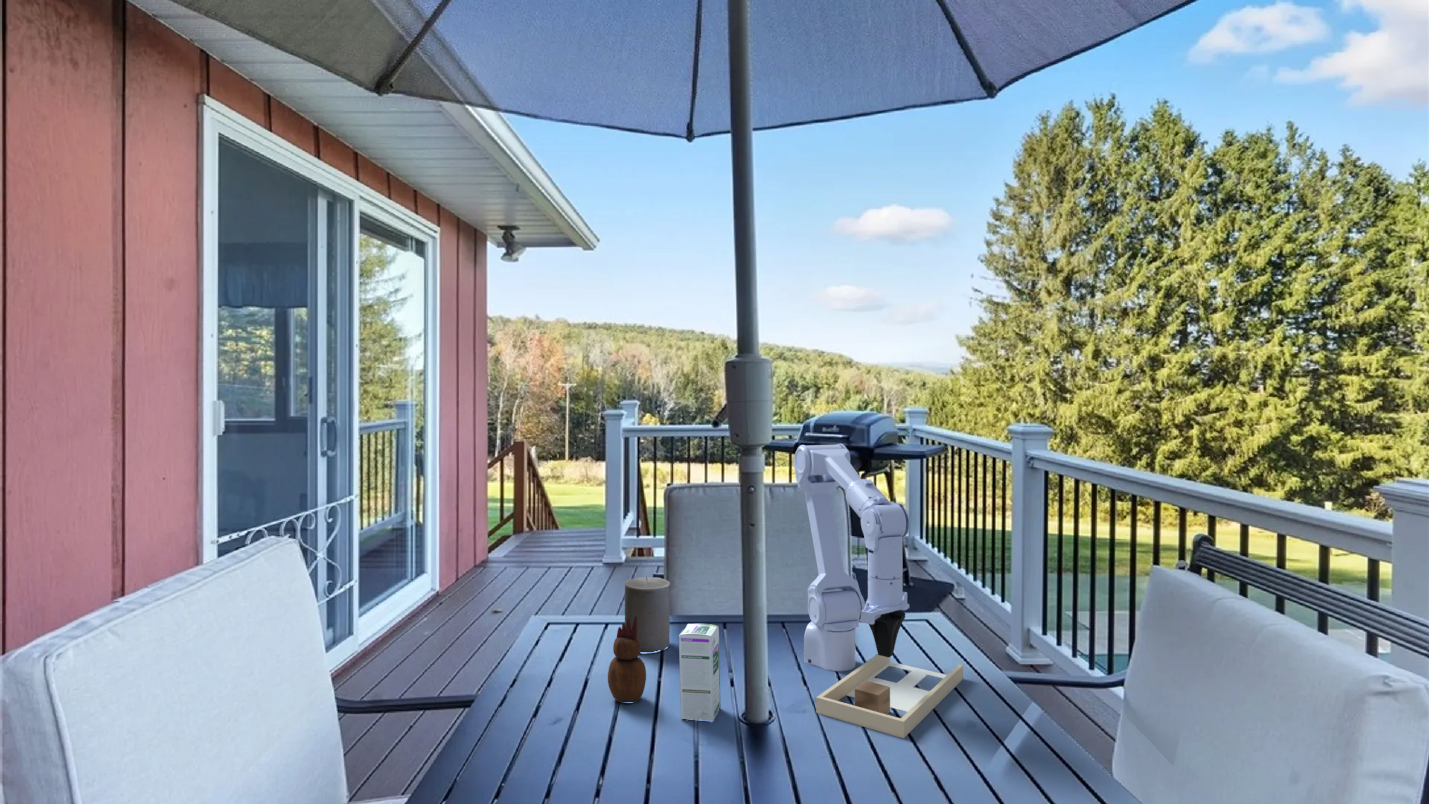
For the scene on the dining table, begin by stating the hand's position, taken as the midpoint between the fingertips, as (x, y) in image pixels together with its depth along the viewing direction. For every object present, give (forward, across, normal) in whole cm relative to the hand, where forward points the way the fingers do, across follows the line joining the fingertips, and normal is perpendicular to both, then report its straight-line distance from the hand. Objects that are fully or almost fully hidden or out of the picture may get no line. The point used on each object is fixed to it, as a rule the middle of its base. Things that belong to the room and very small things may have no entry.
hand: (885, 655), depth 123 cm
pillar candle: (+10, -1, +54) cm, 54 cm away
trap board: (+9, +3, 0) cm, 10 cm away
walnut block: (+8, -5, 0) cm, 10 cm away
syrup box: (+10, -20, +24) cm, 33 cm away
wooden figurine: (+10, -23, +38) cm, 46 cm away
